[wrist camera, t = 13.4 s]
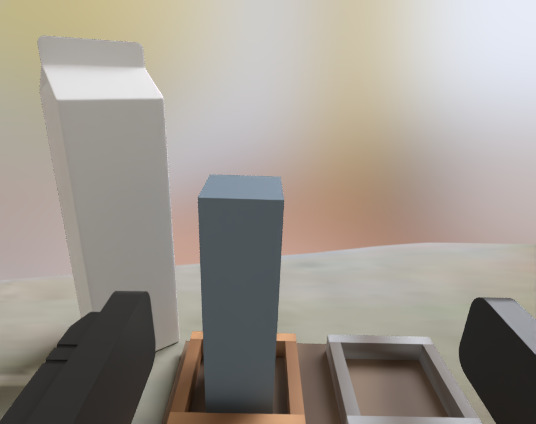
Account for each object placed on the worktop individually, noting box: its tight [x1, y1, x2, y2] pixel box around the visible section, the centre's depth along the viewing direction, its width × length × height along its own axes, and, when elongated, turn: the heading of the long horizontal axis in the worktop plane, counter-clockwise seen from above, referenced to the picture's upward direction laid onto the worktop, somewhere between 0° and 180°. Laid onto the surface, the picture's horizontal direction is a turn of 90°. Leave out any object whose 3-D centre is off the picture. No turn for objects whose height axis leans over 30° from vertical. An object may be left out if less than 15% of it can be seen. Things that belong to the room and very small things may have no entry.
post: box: [198, 175, 284, 414], centre depth 21 cm, size 4×4×14 cm
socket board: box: [162, 331, 482, 424], centre depth 24 cm, size 19×9×2 cm, turn 90°
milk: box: [38, 36, 180, 351], centre depth 26 cm, size 6×6×22 cm
